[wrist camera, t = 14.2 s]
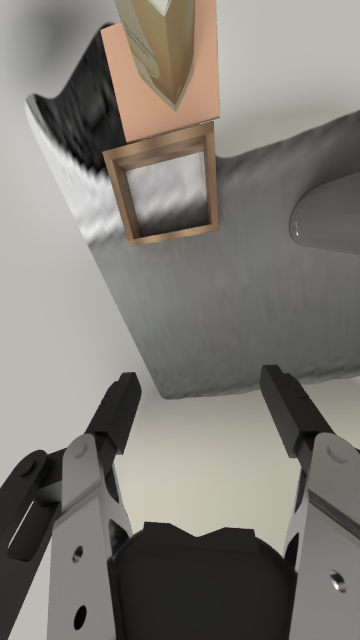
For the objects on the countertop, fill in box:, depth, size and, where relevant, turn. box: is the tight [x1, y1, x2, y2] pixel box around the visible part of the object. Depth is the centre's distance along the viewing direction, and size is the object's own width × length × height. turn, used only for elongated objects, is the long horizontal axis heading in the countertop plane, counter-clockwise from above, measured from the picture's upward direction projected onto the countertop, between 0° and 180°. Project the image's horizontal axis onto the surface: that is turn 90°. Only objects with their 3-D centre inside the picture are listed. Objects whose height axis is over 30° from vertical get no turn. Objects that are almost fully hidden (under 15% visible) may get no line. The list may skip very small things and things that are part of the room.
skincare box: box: [115, 0, 195, 112], centre depth 16 cm, size 6×4×12 cm
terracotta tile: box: [101, 0, 220, 144], centre depth 22 cm, size 14×10×1 cm
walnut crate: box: [102, 121, 219, 247], centre depth 26 cm, size 15×12×5 cm
